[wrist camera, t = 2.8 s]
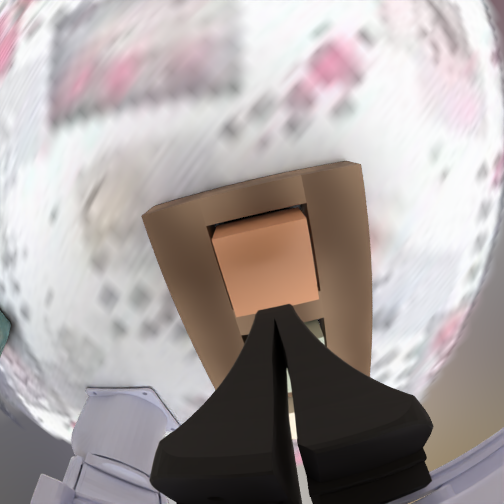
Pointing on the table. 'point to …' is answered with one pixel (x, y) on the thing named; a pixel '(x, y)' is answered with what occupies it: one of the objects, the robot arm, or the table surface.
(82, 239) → the table surface
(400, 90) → the table surface
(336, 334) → the button panel
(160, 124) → the table surface
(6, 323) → the flower pot
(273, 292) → the terracotta button
